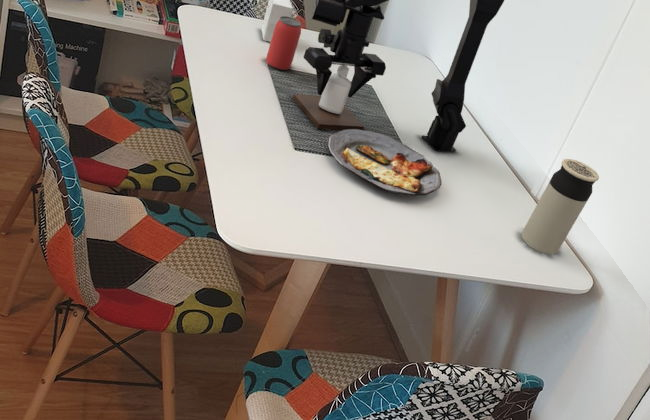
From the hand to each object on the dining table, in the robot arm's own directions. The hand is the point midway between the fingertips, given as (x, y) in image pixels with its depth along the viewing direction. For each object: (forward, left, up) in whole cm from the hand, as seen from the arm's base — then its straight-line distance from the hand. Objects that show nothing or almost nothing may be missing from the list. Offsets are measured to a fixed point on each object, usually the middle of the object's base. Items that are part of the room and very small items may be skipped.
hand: (334, 95), depth 169 cm
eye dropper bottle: (0, 0, -4) cm, 4 cm away
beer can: (+25, +2, -5) cm, 26 cm away
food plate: (-23, -2, -5) cm, 24 cm away
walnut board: (0, 0, -5) cm, 5 cm away
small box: (+43, -4, -5) cm, 44 cm away
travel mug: (-50, -25, -5) cm, 56 cm away
